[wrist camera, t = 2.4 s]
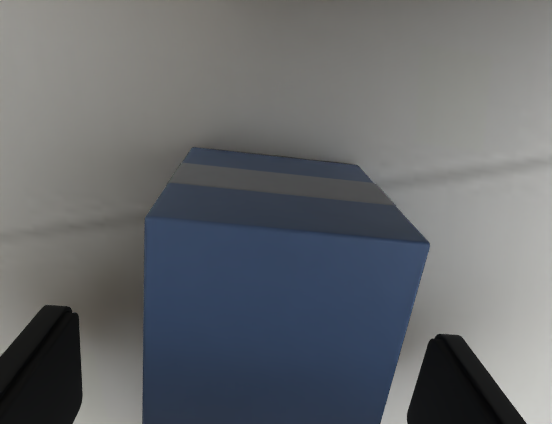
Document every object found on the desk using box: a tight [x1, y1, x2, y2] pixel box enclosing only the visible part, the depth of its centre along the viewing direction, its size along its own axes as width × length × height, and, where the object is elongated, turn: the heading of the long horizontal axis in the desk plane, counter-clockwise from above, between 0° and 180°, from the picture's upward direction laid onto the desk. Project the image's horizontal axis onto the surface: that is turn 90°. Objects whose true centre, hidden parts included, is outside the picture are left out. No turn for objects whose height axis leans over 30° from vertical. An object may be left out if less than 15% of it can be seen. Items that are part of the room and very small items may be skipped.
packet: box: [142, 147, 430, 424], centre depth 10 cm, size 10×4×5 cm, turn 173°
